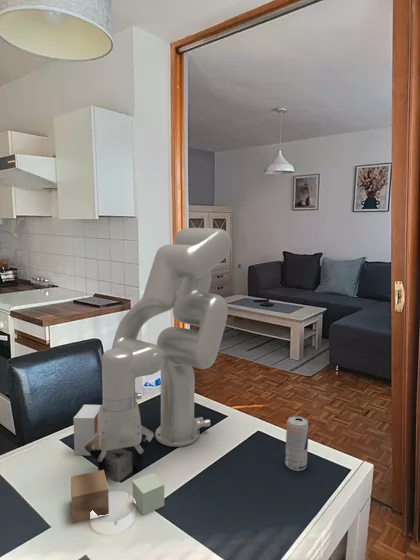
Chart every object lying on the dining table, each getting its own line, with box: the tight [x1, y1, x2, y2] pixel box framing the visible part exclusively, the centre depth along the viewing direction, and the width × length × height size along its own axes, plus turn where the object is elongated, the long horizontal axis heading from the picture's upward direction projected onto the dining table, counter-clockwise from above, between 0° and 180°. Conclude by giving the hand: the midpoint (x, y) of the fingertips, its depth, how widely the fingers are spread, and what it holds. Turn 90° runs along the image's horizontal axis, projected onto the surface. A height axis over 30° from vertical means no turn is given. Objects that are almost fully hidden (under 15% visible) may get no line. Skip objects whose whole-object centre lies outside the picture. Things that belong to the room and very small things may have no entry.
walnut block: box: [70, 470, 110, 525], centre depth 85 cm, size 7×7×6 cm
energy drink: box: [284, 415, 310, 472], centre depth 100 cm, size 5×5×12 cm
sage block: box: [132, 472, 165, 516], centre depth 86 cm, size 5×5×5 cm
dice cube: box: [104, 448, 133, 483], centre depth 97 cm, size 5×5×5 cm
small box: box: [72, 404, 102, 457], centre depth 107 cm, size 8×6×10 cm
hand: (120, 469), depth 97 cm, fingers open, 7 cm apart
